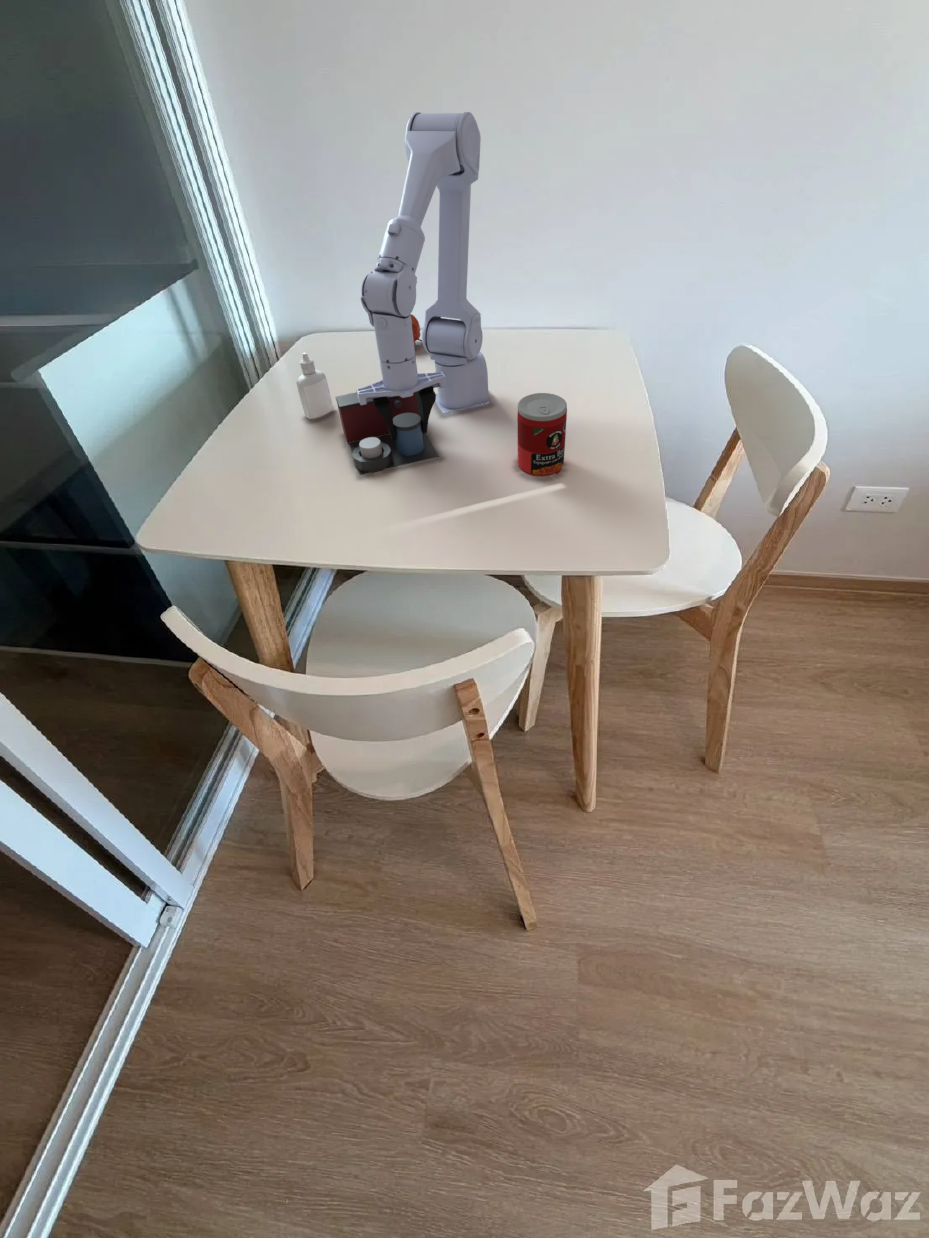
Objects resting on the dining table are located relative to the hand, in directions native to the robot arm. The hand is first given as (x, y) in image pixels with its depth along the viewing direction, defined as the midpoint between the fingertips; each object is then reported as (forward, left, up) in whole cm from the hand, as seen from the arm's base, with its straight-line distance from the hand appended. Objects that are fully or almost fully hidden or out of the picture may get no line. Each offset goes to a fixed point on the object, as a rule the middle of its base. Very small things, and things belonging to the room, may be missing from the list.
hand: (408, 434), depth 107 cm
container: (0, 0, -3) cm, 3 cm away
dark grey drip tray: (+3, -1, -3) cm, 5 cm away
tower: (+3, -9, -3) cm, 10 cm away
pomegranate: (-11, -44, -4) cm, 45 cm away
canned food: (-19, +13, -4) cm, 24 cm away
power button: (+7, +1, -1) cm, 7 cm away
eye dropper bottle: (+13, -21, -4) cm, 25 cm away
